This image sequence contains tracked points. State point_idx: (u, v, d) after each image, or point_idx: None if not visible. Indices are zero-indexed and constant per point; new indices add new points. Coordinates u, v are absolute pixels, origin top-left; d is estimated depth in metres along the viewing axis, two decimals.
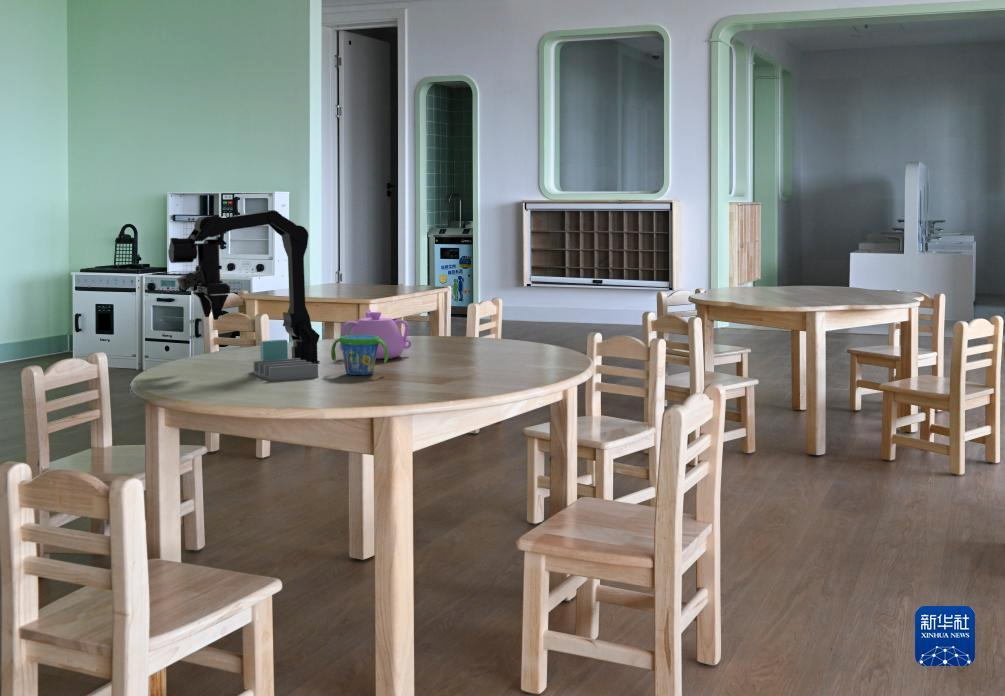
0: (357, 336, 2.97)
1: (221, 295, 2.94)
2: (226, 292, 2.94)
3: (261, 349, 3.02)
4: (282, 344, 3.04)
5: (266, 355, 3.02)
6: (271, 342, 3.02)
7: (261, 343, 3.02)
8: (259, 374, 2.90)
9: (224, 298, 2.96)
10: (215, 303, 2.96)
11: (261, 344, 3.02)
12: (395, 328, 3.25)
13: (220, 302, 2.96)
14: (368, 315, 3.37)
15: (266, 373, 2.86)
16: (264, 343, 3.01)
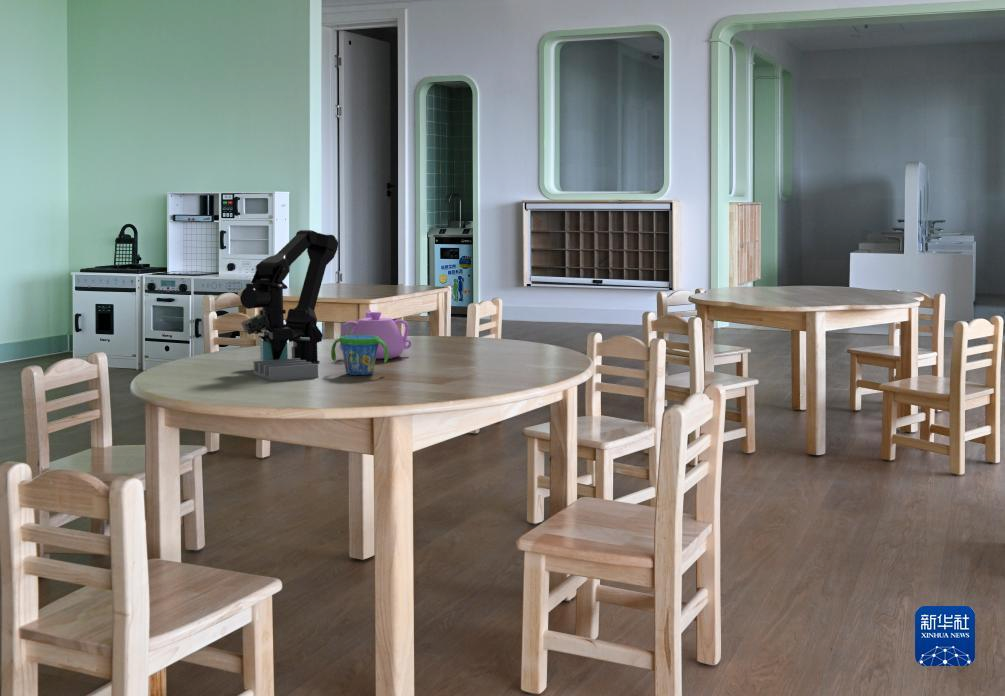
0: (357, 336, 2.97)
1: (282, 339, 3.00)
2: (291, 337, 2.96)
3: (261, 349, 3.02)
4: None
5: (266, 355, 3.02)
6: None
7: (261, 343, 3.02)
8: (259, 374, 2.90)
9: (285, 341, 3.02)
10: (276, 346, 3.01)
11: (261, 344, 3.02)
12: (395, 328, 3.25)
13: (281, 345, 3.02)
14: (368, 315, 3.37)
15: (266, 373, 2.86)
16: (264, 343, 3.01)
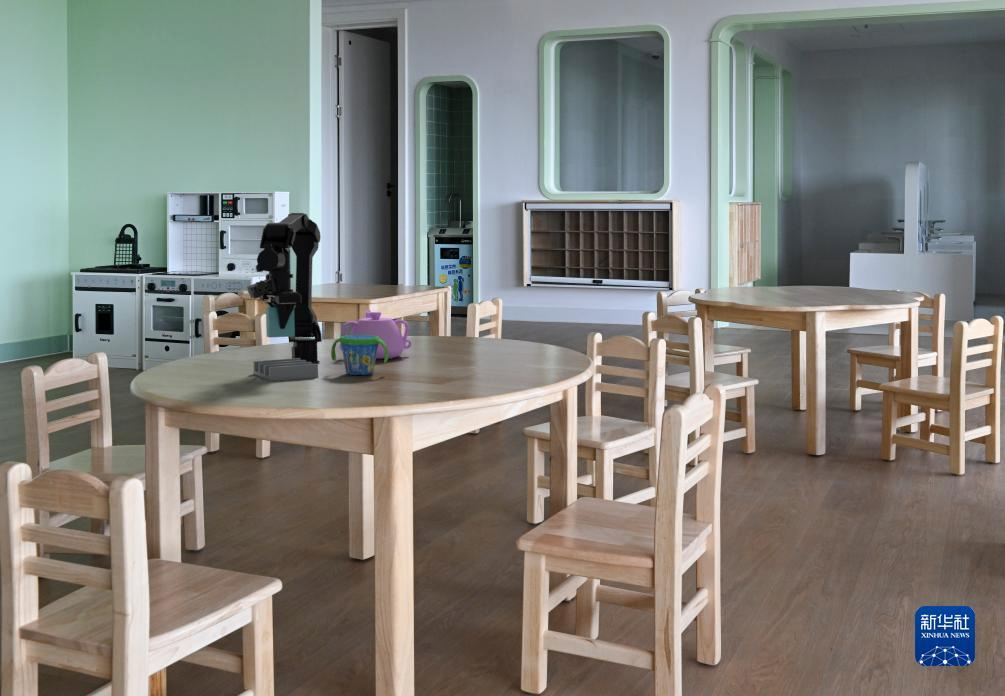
0: (357, 336, 2.97)
1: (289, 303, 2.88)
2: (298, 301, 2.85)
3: (267, 315, 2.91)
4: None
5: (272, 322, 2.90)
6: None
7: (267, 309, 2.90)
8: (259, 374, 2.90)
9: (291, 307, 2.90)
10: (282, 311, 2.90)
11: (267, 310, 2.90)
12: (395, 328, 3.25)
13: (287, 311, 2.90)
14: (368, 315, 3.37)
15: (266, 373, 2.86)
16: (270, 309, 2.89)
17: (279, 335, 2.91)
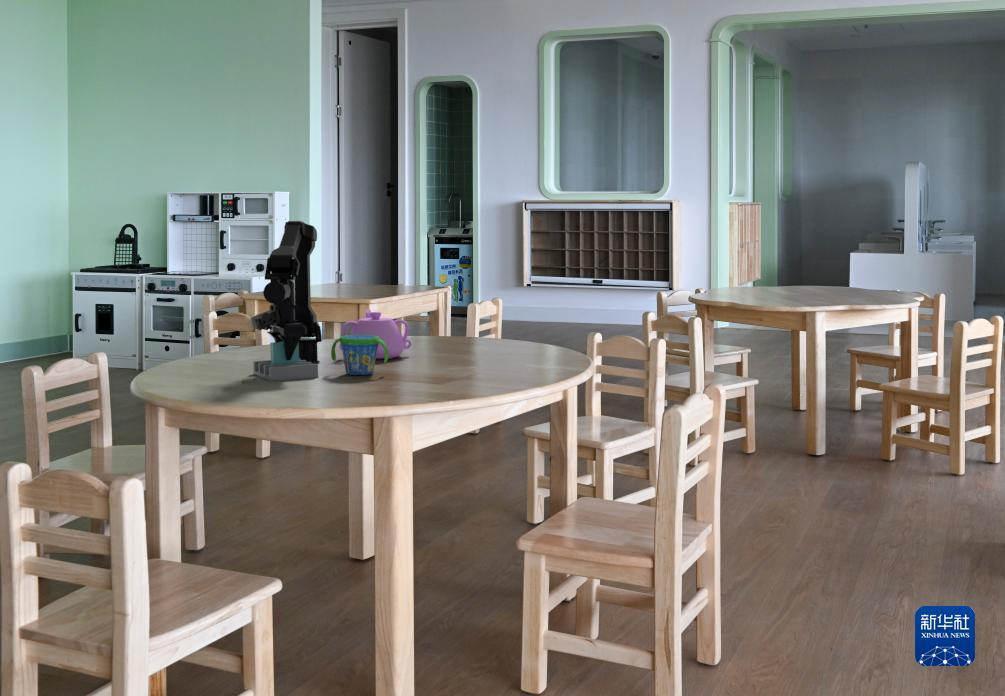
0: (357, 336, 2.97)
1: (295, 335, 2.85)
2: (303, 333, 2.83)
3: (271, 351, 2.89)
4: None
5: (277, 358, 2.89)
6: (282, 344, 2.89)
7: (271, 345, 2.89)
8: (259, 374, 2.90)
9: (298, 338, 2.87)
10: (288, 343, 2.87)
11: (271, 346, 2.89)
12: (395, 328, 3.25)
13: (293, 342, 2.87)
14: (368, 315, 3.37)
15: (266, 373, 2.86)
16: (274, 345, 2.88)
17: None
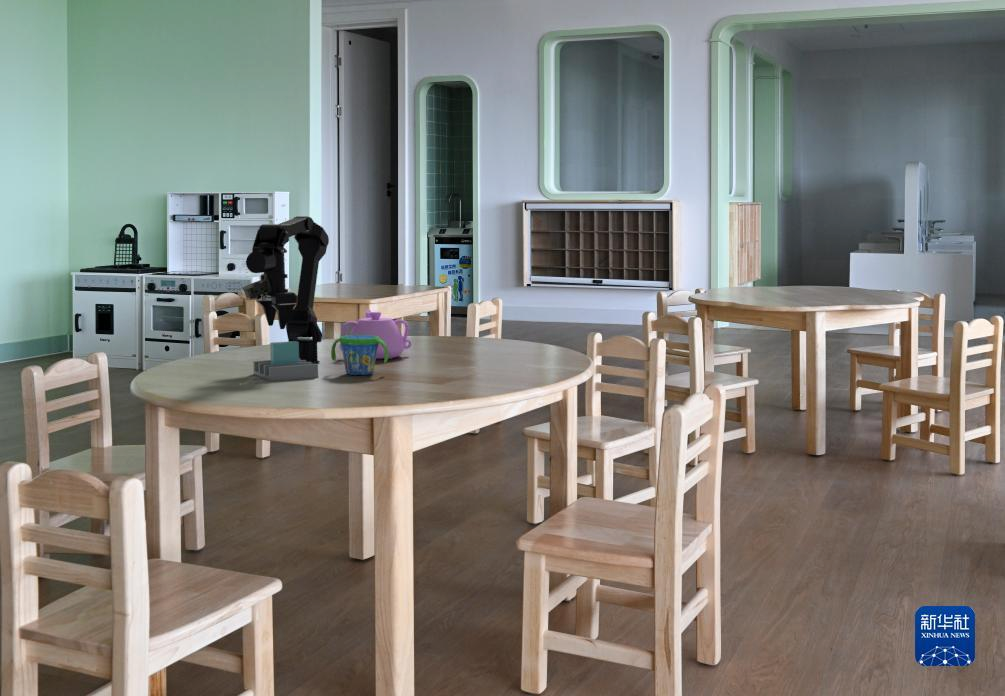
0: (357, 336, 2.97)
1: (289, 304, 2.92)
2: (294, 301, 2.91)
3: (271, 351, 2.89)
4: (294, 345, 2.91)
5: (277, 358, 2.89)
6: (282, 344, 2.89)
7: (271, 345, 2.89)
8: (259, 374, 2.90)
9: (291, 307, 2.94)
10: (282, 312, 2.93)
11: (271, 346, 2.89)
12: (395, 328, 3.25)
13: (287, 311, 2.94)
14: (368, 315, 3.37)
15: (266, 373, 2.86)
16: (274, 345, 2.88)
17: None
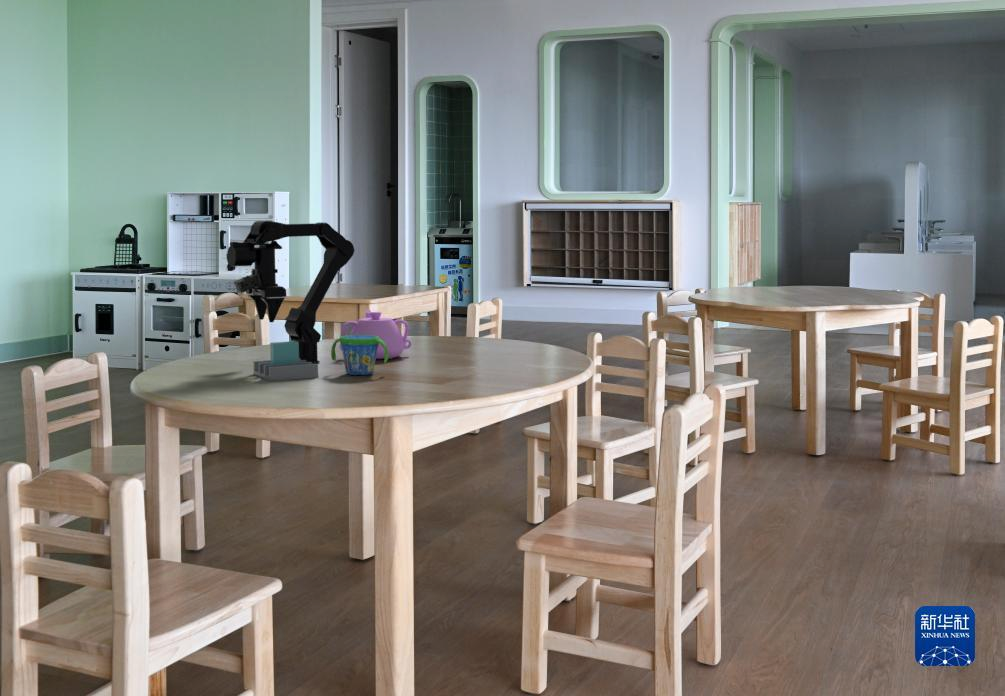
0: (357, 336, 2.97)
1: (278, 298, 3.01)
2: (283, 295, 3.00)
3: (271, 351, 2.89)
4: (294, 345, 2.91)
5: (277, 358, 2.89)
6: (282, 344, 2.89)
7: (271, 345, 2.89)
8: (259, 374, 2.90)
9: (280, 301, 3.03)
10: (271, 305, 3.02)
11: (271, 346, 2.89)
12: (395, 328, 3.25)
13: (276, 305, 3.03)
14: (368, 315, 3.37)
15: (266, 373, 2.86)
16: (274, 345, 2.88)
17: None
